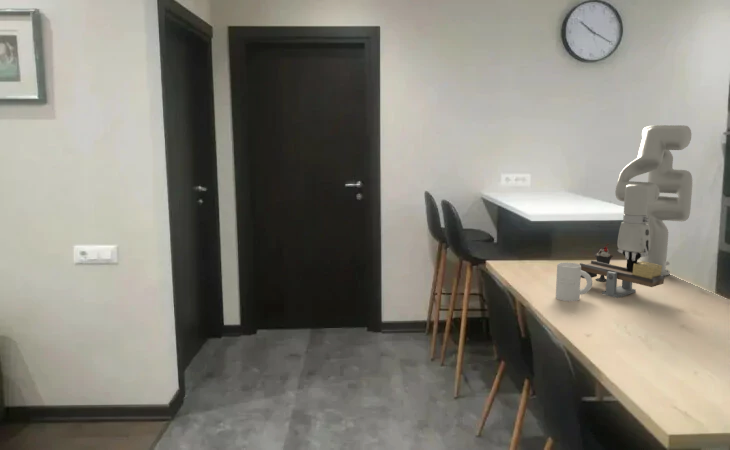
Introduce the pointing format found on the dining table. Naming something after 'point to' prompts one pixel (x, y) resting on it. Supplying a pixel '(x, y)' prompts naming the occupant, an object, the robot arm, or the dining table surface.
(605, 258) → the sundae
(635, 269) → the block
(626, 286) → the pivot stand
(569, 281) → the mug
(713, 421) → the dining table surface
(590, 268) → the beam
